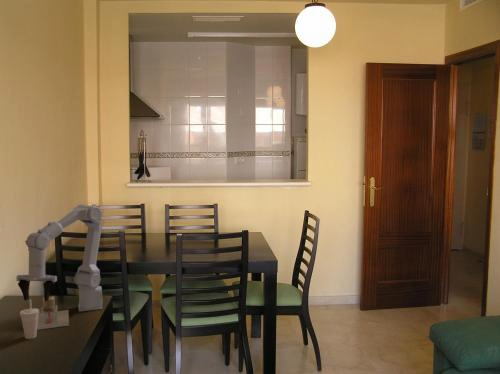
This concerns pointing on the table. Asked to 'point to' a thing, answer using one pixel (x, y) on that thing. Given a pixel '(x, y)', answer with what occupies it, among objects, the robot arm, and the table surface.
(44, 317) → the jack base
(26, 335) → the smoothie
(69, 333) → the table surface
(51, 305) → the post
